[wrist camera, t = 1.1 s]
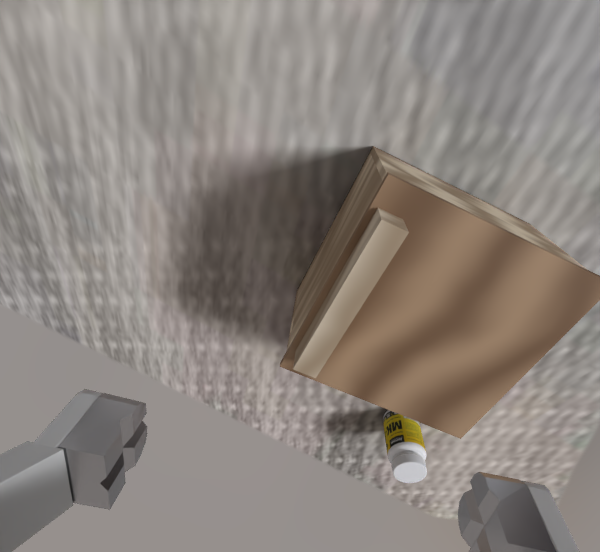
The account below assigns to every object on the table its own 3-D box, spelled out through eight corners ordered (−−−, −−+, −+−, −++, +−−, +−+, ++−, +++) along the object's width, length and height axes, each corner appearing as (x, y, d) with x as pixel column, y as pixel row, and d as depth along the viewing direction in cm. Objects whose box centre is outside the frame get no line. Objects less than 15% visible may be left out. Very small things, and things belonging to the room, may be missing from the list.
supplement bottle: (395, 399, 52) (405, 454, 45) (424, 413, 53) (439, 469, 46) (375, 421, 54) (382, 476, 47) (404, 433, 55) (414, 490, 48)
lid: (280, 361, 35) (276, 386, 32) (387, 171, 26) (393, 183, 23) (458, 433, 37) (468, 461, 34) (609, 280, 29) (637, 302, 26)
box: (296, 291, 45) (285, 358, 35) (373, 146, 37) (388, 176, 27) (430, 348, 48) (457, 427, 37) (529, 223, 39) (600, 280, 29)
